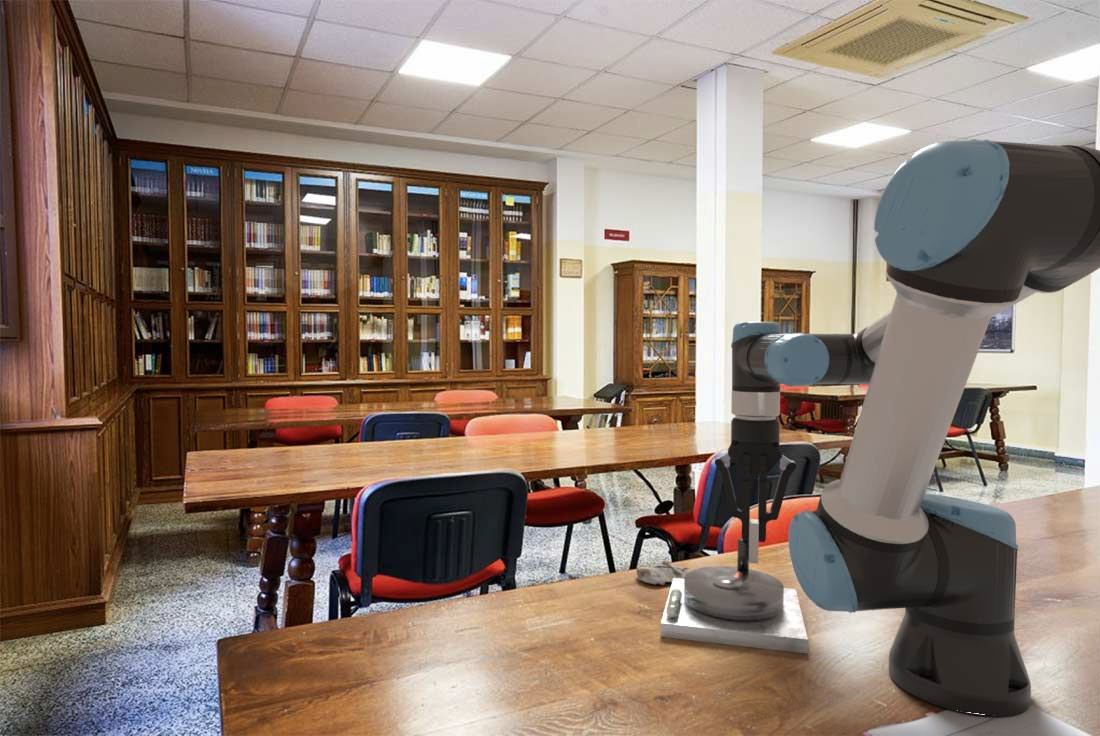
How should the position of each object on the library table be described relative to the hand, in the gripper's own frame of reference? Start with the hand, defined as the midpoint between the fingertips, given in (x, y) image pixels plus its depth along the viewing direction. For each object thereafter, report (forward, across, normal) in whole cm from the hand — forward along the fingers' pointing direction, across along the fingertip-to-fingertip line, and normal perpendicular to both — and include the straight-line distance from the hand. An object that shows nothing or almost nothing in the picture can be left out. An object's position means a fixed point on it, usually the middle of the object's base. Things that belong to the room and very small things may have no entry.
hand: (753, 560), depth 111 cm
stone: (+8, +15, -8) cm, 19 cm away
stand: (+7, +3, +7) cm, 11 cm away
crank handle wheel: (+5, +3, +6) cm, 8 cm away
